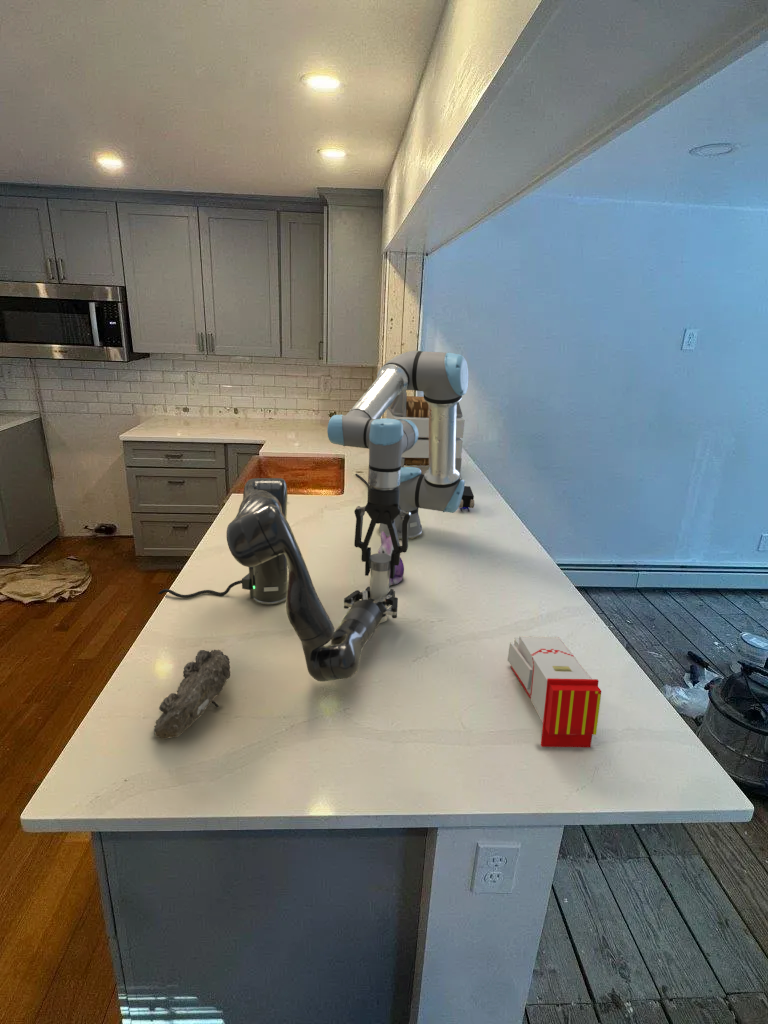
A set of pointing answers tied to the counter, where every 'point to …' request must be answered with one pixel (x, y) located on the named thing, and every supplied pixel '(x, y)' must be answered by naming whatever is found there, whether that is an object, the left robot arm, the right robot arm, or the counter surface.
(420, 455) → the grey brown slatted box
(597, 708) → the toy
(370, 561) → the lid
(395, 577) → the figurine
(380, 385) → the right robot arm
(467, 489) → the figurine character
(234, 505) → the counter surface
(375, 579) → the jar
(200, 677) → the fossil
